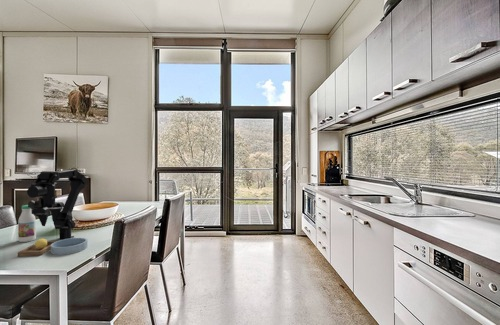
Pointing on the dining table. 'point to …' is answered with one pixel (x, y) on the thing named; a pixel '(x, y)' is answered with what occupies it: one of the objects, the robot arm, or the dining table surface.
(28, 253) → the tray
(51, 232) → the dining table surface
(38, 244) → the ball
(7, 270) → the dining table surface
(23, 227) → the milk bottle
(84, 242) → the bowl
